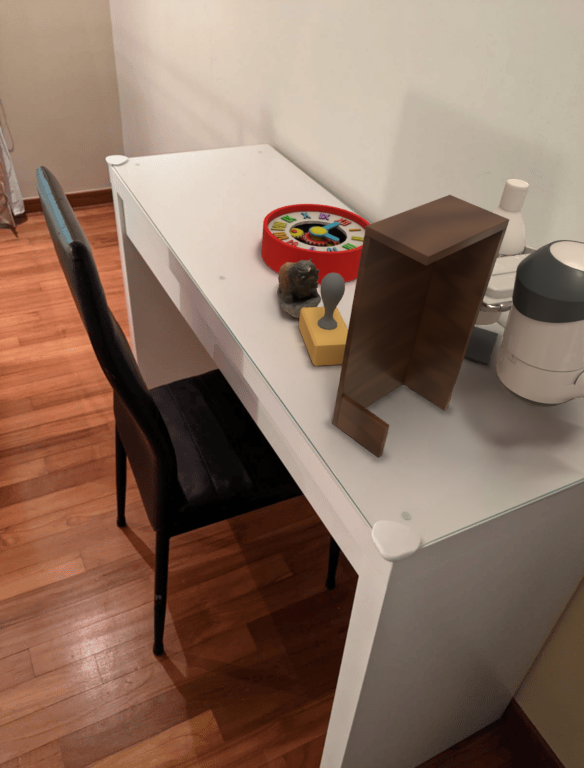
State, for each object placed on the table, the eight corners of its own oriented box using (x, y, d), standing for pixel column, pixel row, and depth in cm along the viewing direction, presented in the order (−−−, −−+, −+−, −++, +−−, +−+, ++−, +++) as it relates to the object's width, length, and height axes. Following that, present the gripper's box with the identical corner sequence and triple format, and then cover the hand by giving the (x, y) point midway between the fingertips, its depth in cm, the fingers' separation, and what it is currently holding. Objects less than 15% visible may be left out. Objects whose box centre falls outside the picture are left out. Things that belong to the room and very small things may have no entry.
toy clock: (239, 222, 107) (312, 195, 120) (238, 252, 111) (309, 223, 123) (327, 265, 98) (396, 230, 110) (323, 297, 101) (390, 260, 114)
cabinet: (447, 407, 82) (510, 219, 65) (378, 457, 74) (428, 256, 57) (402, 379, 86) (449, 194, 69) (331, 423, 78) (365, 225, 61)
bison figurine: (271, 285, 103) (275, 230, 97) (312, 286, 104) (319, 231, 98) (280, 326, 94) (285, 267, 87) (324, 325, 95) (333, 268, 89)
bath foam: (507, 314, 92) (554, 184, 79) (486, 332, 87) (532, 197, 75) (466, 296, 95) (504, 168, 82) (444, 312, 91) (481, 180, 78)
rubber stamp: (351, 364, 88) (364, 292, 80) (312, 366, 87) (322, 293, 79) (334, 325, 95) (344, 255, 88) (298, 326, 94) (305, 256, 86)
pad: (497, 335, 97) (498, 333, 97) (487, 365, 90) (487, 363, 90) (442, 318, 99) (443, 316, 99) (428, 346, 93) (428, 344, 93)
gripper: (483, 334, 74) (423, 278, 84) (609, 311, 81) (540, 262, 91) (499, 289, 70) (434, 236, 80) (629, 268, 77) (555, 222, 87)
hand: (491, 250), depth 85 cm, fingers closed on bath foam, 7 cm apart
